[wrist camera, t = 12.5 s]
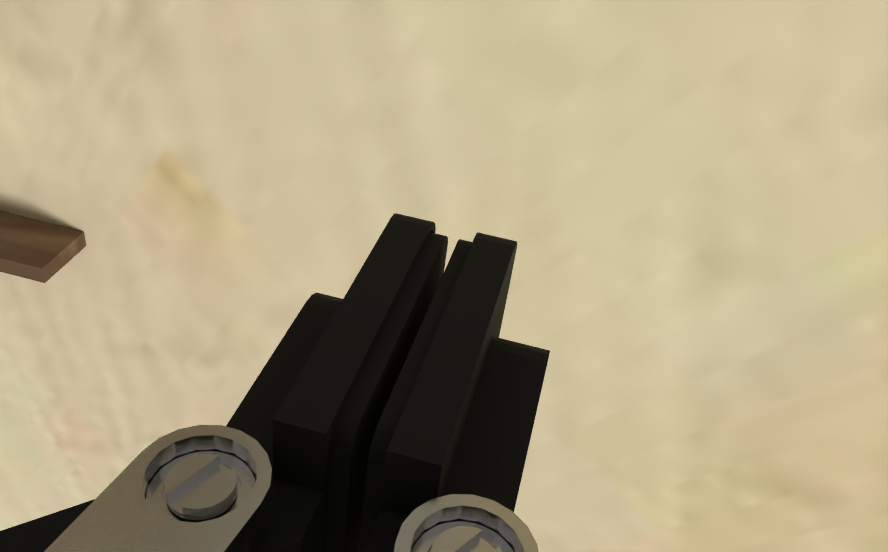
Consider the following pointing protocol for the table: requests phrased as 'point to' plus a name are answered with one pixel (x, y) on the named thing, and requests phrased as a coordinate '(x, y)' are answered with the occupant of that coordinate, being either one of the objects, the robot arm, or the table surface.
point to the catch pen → (36, 247)
